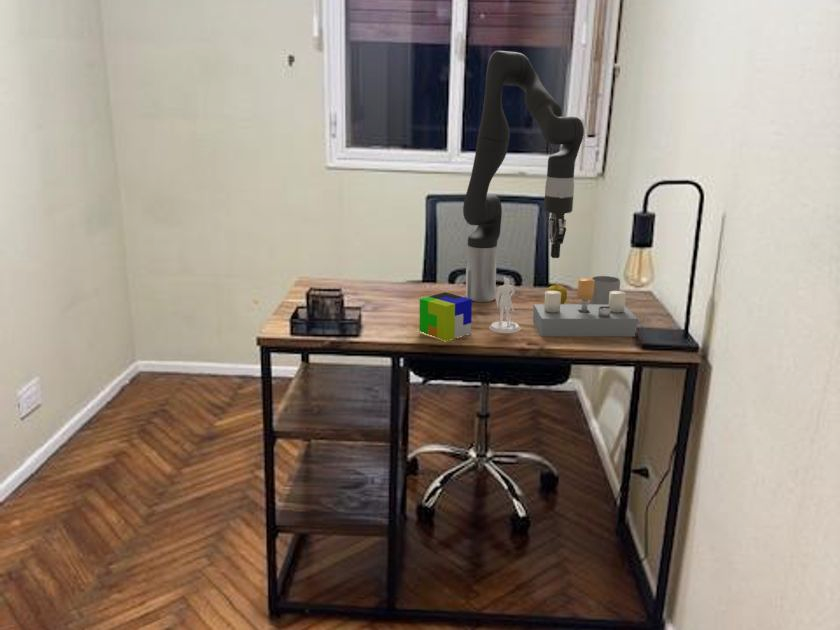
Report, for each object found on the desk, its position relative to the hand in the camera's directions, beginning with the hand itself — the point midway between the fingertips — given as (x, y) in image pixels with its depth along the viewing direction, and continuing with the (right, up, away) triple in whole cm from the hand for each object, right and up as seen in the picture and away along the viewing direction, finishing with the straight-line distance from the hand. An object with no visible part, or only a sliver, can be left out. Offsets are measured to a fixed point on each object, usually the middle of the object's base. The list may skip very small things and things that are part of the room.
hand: (554, 257), depth 206 cm
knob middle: (+9, -15, +5) cm, 18 cm away
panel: (+9, -20, +6) cm, 22 cm away
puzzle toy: (-30, -21, +1) cm, 37 cm away
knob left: (0, -18, +6) cm, 19 cm away
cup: (+19, -15, +23) cm, 33 cm away
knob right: (+18, -18, +6) cm, 26 cm away
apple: (+5, -14, +25) cm, 29 cm away
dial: (+14, -16, 0) cm, 21 cm away
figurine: (-13, -20, +6) cm, 24 cm away
